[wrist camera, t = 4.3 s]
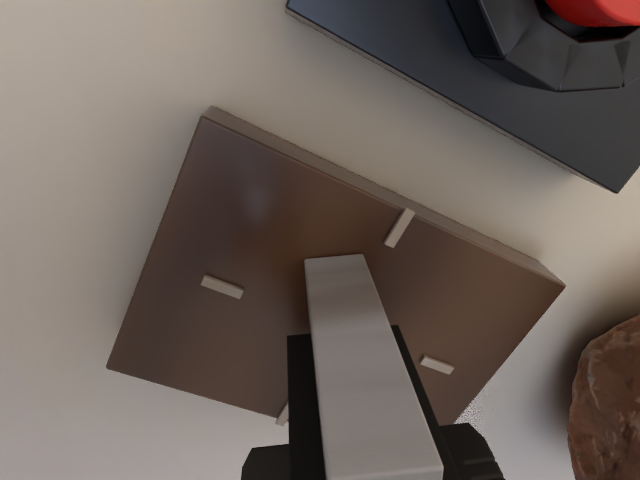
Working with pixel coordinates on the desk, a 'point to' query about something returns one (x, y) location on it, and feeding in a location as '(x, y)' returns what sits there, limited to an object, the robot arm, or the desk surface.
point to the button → (597, 12)
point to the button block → (508, 71)
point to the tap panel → (290, 282)
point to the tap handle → (363, 380)
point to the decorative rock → (607, 407)
